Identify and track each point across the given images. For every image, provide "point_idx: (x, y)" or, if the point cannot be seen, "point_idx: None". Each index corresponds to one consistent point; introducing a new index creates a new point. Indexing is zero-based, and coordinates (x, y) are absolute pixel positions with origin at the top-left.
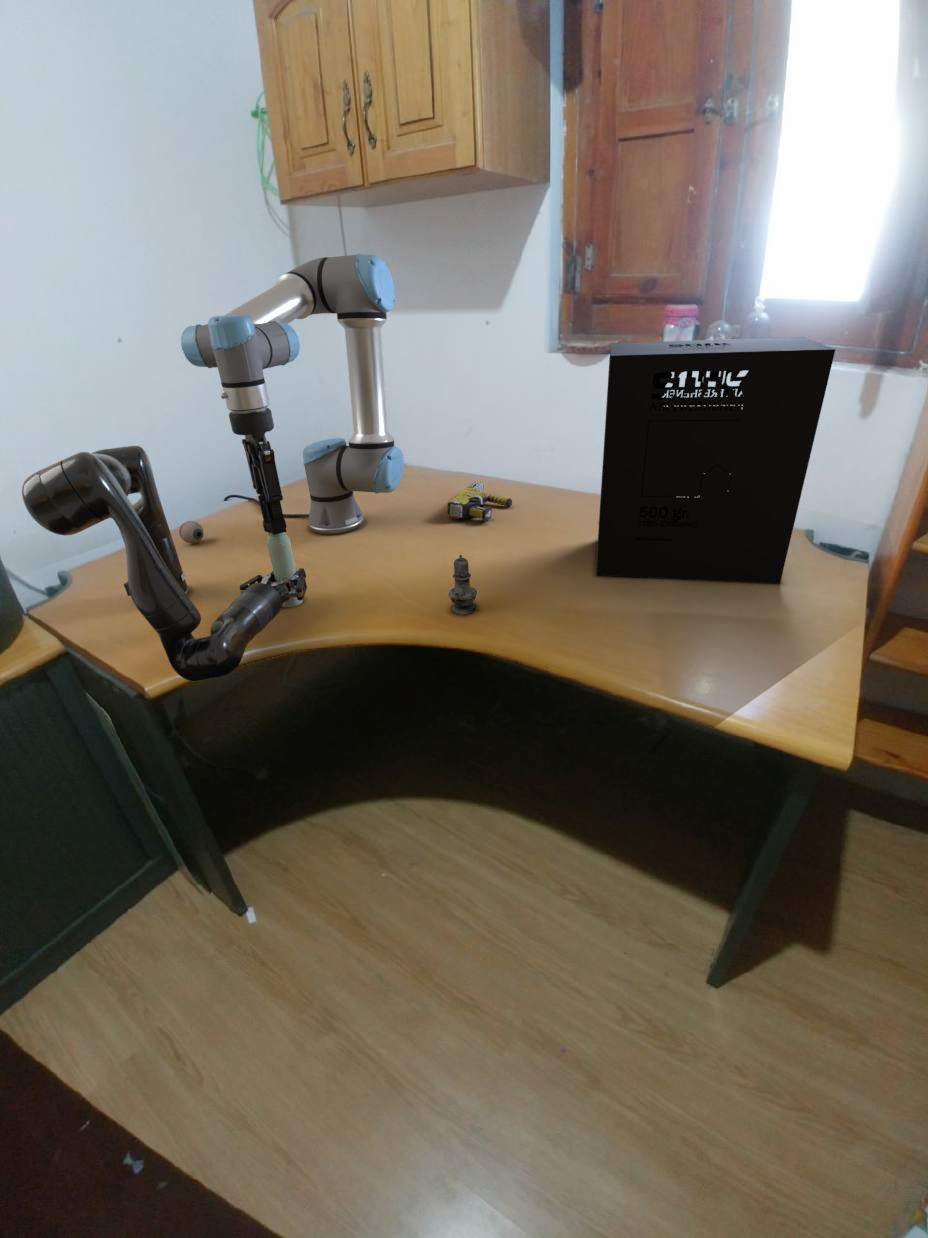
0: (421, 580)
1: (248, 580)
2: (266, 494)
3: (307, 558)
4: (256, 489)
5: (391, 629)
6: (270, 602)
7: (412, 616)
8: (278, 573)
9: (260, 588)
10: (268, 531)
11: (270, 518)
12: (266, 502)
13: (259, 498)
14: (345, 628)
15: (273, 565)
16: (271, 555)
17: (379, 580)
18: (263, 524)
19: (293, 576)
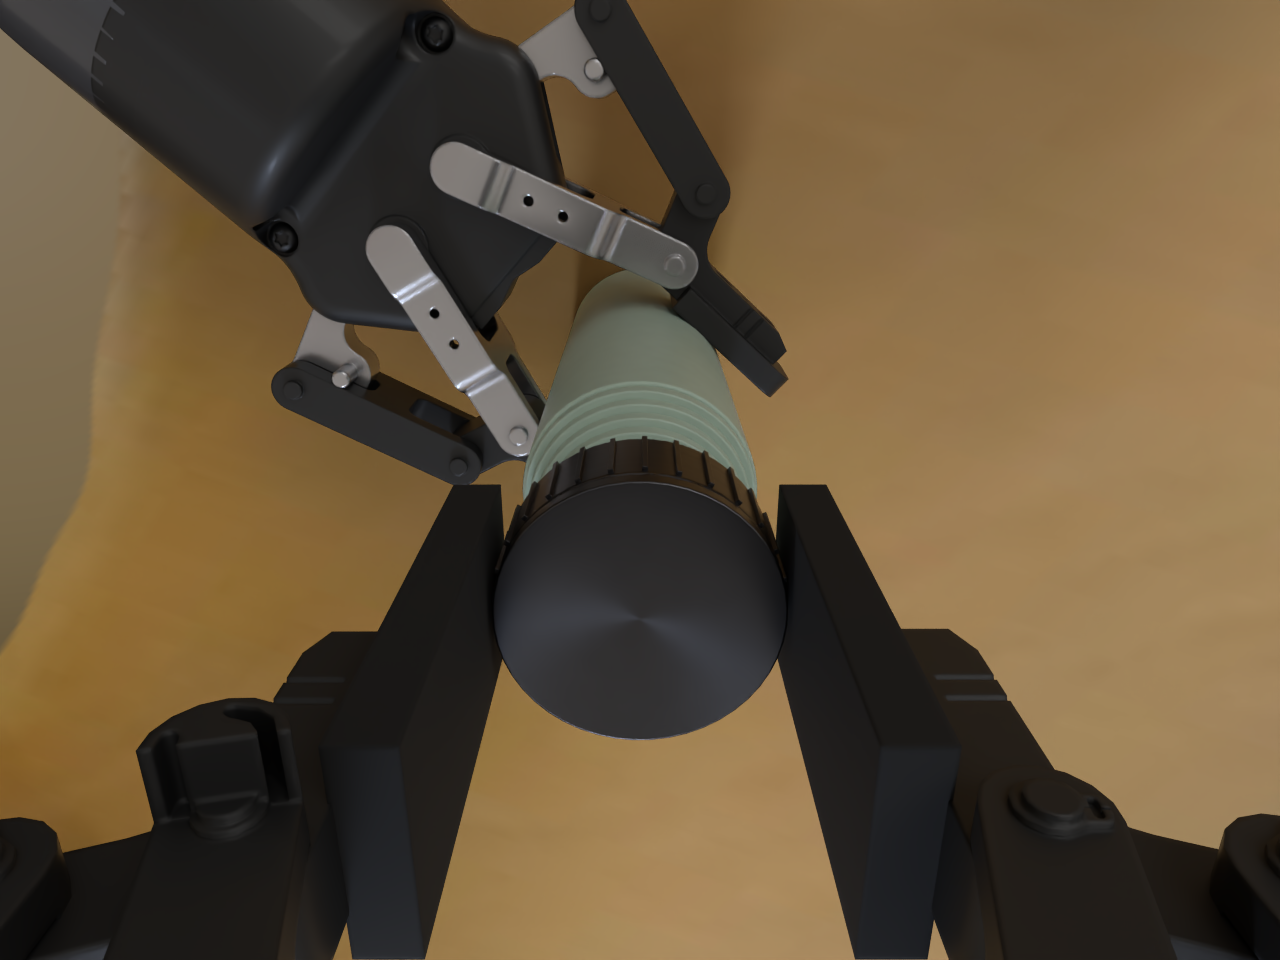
0: (466, 935)
1: (673, 89)
2: (111, 942)
3: (1175, 608)
4: (1090, 843)
5: (44, 652)
6: (123, 130)
7: (128, 770)
8: (580, 338)
9: (186, 94)
10: (554, 466)
11: (405, 597)
12: (169, 770)
13: (873, 722)
14: (157, 480)
15: (611, 334)
16: (602, 360)
17: (593, 800)
18: (637, 471)
19: (521, 423)
